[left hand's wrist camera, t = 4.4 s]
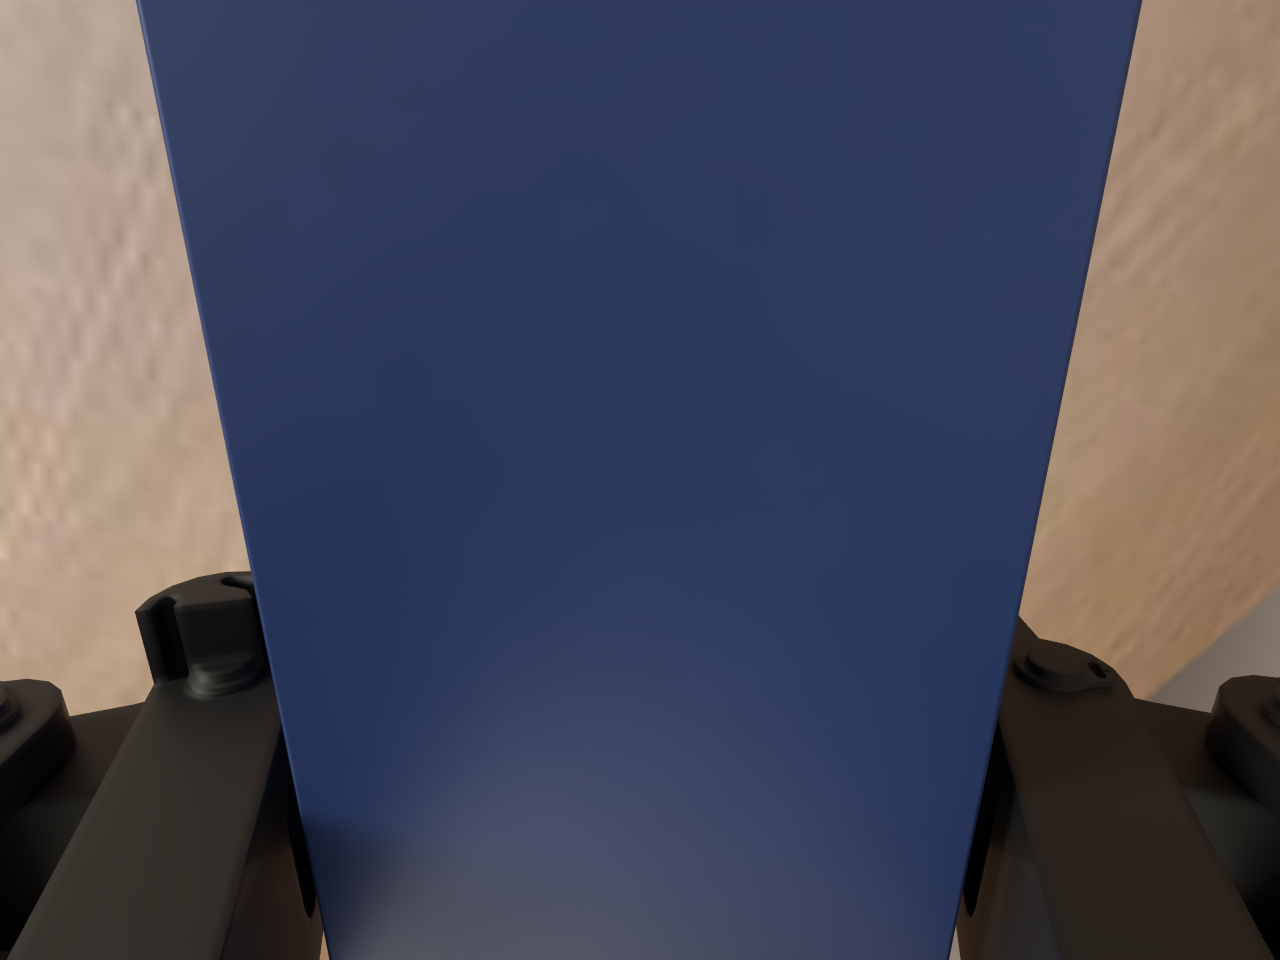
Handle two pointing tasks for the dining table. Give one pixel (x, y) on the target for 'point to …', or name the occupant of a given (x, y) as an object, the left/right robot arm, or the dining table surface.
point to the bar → (639, 441)
